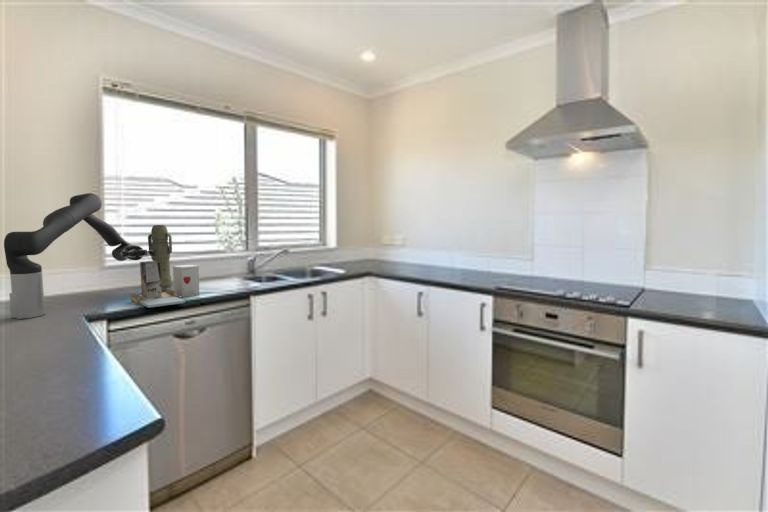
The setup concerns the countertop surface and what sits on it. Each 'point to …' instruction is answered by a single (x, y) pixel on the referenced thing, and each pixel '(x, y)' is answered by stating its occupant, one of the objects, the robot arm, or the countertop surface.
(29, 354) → the countertop surface
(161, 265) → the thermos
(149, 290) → the coffee box
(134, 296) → the flatbed
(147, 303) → the panel
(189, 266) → the supplement box
